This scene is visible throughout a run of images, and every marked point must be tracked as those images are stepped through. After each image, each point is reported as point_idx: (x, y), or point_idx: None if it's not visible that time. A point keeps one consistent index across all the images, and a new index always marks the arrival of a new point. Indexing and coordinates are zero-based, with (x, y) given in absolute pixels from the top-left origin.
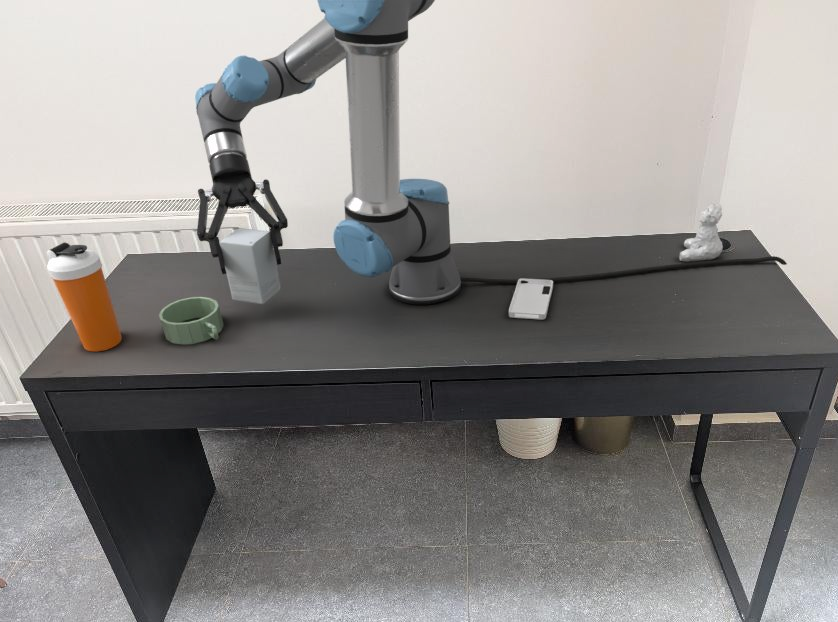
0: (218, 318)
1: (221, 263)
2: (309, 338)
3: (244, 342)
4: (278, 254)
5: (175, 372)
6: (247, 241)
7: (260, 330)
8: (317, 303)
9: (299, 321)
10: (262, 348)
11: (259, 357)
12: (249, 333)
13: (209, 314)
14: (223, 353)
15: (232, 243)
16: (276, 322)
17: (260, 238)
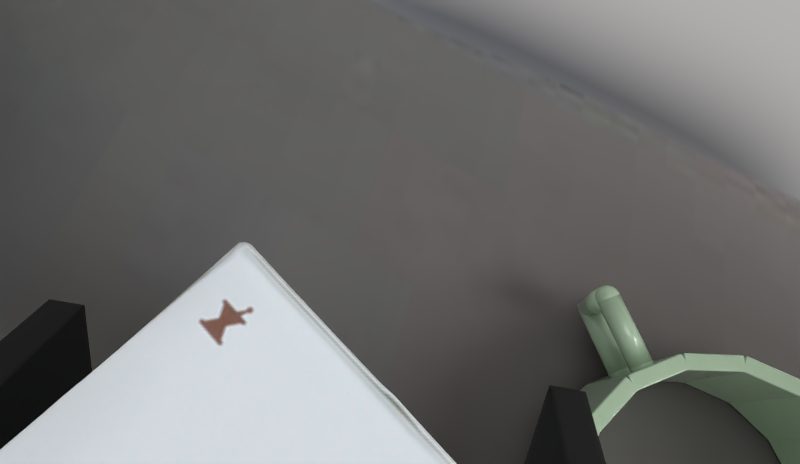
0: None
1: (579, 426)
2: (226, 146)
3: (472, 258)
4: (29, 328)
5: (758, 182)
6: (247, 388)
7: (383, 324)
8: None
9: None
10: (417, 173)
11: (445, 118)
12: (434, 324)
13: (625, 396)
14: (568, 219)
15: (443, 461)
16: None
17: (55, 403)
